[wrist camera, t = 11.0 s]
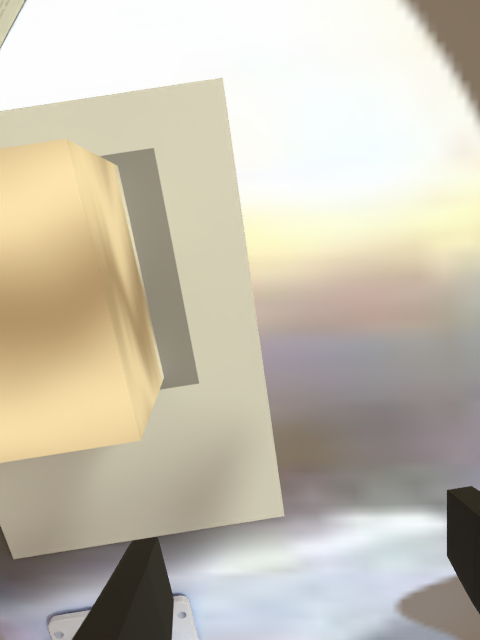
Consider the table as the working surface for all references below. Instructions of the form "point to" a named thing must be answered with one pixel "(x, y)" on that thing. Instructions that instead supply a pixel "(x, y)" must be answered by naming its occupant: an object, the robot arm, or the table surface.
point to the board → (162, 336)
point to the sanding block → (70, 306)
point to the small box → (8, 15)
